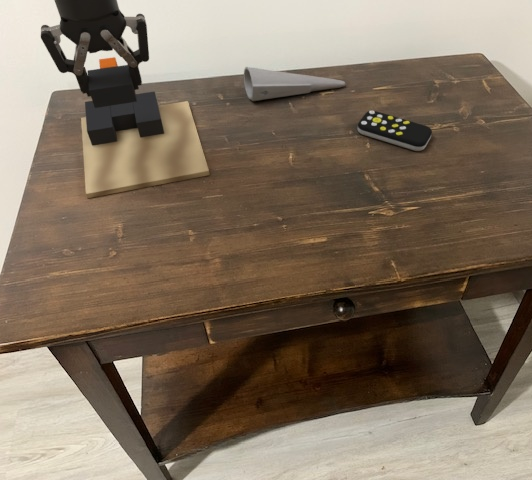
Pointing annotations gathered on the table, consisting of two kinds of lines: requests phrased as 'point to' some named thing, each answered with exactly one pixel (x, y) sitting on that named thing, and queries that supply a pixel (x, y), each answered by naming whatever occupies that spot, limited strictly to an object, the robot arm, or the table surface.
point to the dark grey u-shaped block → (123, 119)
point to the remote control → (394, 130)
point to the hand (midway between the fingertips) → (113, 90)
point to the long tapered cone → (283, 83)
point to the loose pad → (110, 84)
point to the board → (145, 155)
